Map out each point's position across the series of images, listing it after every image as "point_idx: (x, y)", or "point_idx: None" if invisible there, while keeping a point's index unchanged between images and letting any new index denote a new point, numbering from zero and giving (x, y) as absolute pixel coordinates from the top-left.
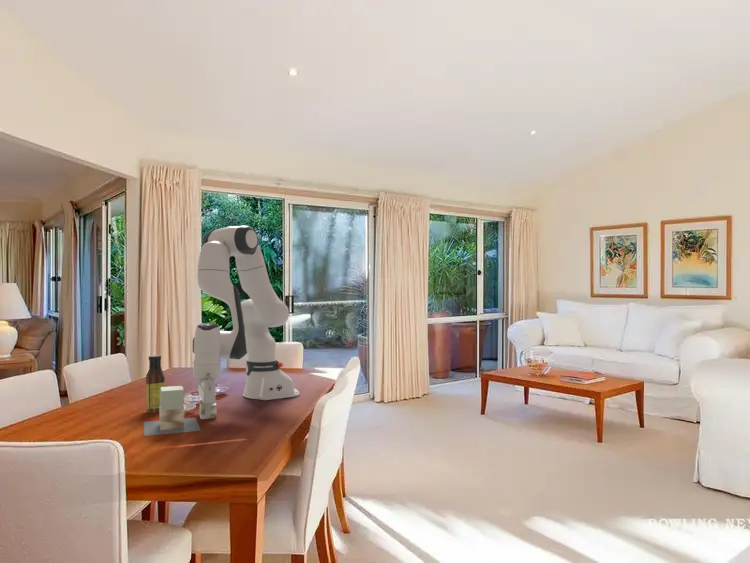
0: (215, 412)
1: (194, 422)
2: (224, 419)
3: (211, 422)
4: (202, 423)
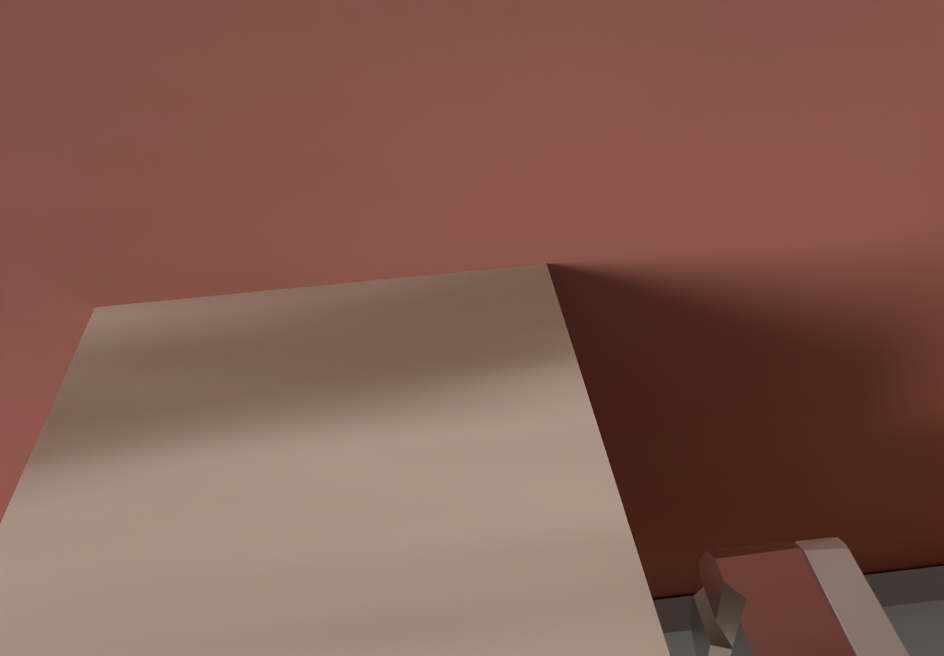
0: (592, 436)
1: None
2: (630, 32)
3: (783, 371)
4: (765, 518)
